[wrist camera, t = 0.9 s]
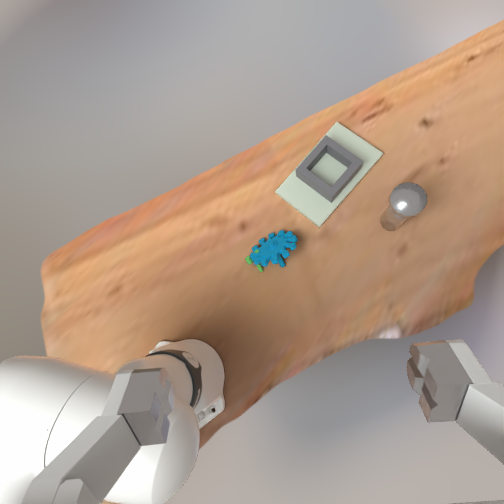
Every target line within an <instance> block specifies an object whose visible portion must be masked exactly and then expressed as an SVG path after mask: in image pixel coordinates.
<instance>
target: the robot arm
mask: <svg viewBox="0 0 504 504" xmlns="http://www.w3.org/2000/svg"><path fill="white" fill-rule="evenodd" d="M409 352H410V354H411V356H412V357H411V358H410V359H409V360H408V362H407V374H408V378H409V381H410V384H411V386H412V389H413V390H414V391H415V392H417V393H418V394H419V395H420V399H419V404H420V406H421V408H422V411H423V413H424V415H425V417H426V419H427V421H428V422H444V421H456V423H458V424H459V425H460V426H461V427H462V428H463V429H464V430H466V431H467V432H468V433H469V434H470V435H471V436H472V437H473V438H475V439H476V440H477V441H478V442H479V443H480V444H481V445H483V447H485V448H486V449H487V450H488V451H489V452H490V453H491V454H492V455H494V456H495V457H496V458H497V459H498V460H499V461H500V462H501V463H503V464H504V385H502V384H500V383H499V382H492V380H491V379H490V377H489V376H488V374H487V373H486V371H485V370H484V369H483V367H482V366H481V364H480V363H479V361H478V360H477V359H476V357H475V356H474V354H473V353H472V352H471V350H470V349H469V347H468V346H467V344H466V343H465V342H464V341H463V340H462V339H455V340H445V341H443V340H442V341H432V342H422V343H414V344H412V345H411V346H410V351H409ZM149 353H150V354H149V355H147V356H145V357H143V358H138V359H134V360H130V361H128V362H126V363H125V364H123V365H122V366H121V367H120V368H118V370H117V371H116V372H115V373H114V374H113V373H110V372H106V371H100V370H97V369H93V368H90V367H87V366H83V365H80V364H77V363H74V362H70V361H67V360H64V359H60V358H54V357H41V356H16V357H12V358H10V359H7V360H5V361H3V362H1V363H0V504H101V503H102V501H103V500H106V501H109V502H115V503H122V504H163V503H164V502H166V501H167V500H169V499H170V498H171V497H172V496H173V495H174V494H176V493H177V492H178V490H179V489H180V488H181V487H182V486H183V485H184V483H185V482H186V480H187V479H188V477H189V475H190V473H191V472H192V470H193V467H194V465H195V462H196V459H197V455H198V451H199V443H200V433H199V429H201V428H202V427H203V426H204V425H206V424H207V423H208V422H210V421H211V420H212V419H214V418H215V417H216V416H217V415H219V414H220V413H221V412H223V411H224V409H225V400H224V395H223V386H224V377H225V376H224V367H223V364H222V361H221V359H220V357H219V355H218V354H217V352H216V351H215V350H214V349H213V348H212V347H211V346H210V345H208V344H206V343H205V342H202V341H200V340H195V339H187V340H182V341H178V342H170V341H161V342H159V343H158V344H157V345H156V347H155V349H152V350H151V351H150V352H149ZM212 408H215V410H216V411H215V412H213V411H212ZM451 504H504V500H497V501H481V502H466V503H451Z"/></svg>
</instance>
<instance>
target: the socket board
mask: <svg viewBox="0 0 504 504" xmlns="http://www.w3.org/2000/svg"><path fill="white" fill-rule="evenodd" d="M382 155H383V153H382V152H381V151H379V150H378V149H376V148H375V147H373V146H372V145H370V144H369V143H367V142H366V141H364V140H363V139H362V138H360V137H359V136H357V135H356V134H354V133H353V132H351V131H350V130H348V129H347V128H345V127H344V126H342V125H341V124H339V123H338V122H336V123H335V124H334V125H333V127H332V128H331V129H330V130H329V131H328V132H327V133H326V135H325V136H324V137H323V138H322V139H321V140H320V141H319V142H318V144H317V145H316V146H315V147H314V148H313V149H312V150H311V152H310V153H309V154H308V155H307V156H306V157H305V158H304V160H303V161H302V162H301V163H300V164H299V165H298V166H297V167H296V169H295V170H294V171H293V172H292V173H291V174H290V175H289V177H288V178H287V179H286V180H285V181H284V182H283V183H282V184H281V186H280V187H279V188H278V189H277V190H276V191H275V193H276V194H277V195H278V196H280V197H281V198H282V199H283V200H285V201H286V202H287V203H288V204H290V205H291V206H292V207H294V208H295V209H296V210H297V211H299V212H300V213H301V214H302V215H304V216H305V217H306V218H307V219H309V220H310V221H311V222H313V223H314V224H315V225H316V226H318V227H319V228H320V227H321V225H322V224H323V223H324V222H325V221H326V220H327V219H328V217H329V216H330V215H331V214H332V213H333V212H334V211H335V209H336V208H337V207H338V206H339V205H340V204H341V202H342V201H343V200H344V199H345V198H346V197H347V196H348V194H349V193H350V192H351V191H352V190H353V189H354V188H355V186H356V185H357V184H358V183H359V182H360V181H361V180H362V178H363V177H364V176H365V175H366V174H367V173H368V172H369V170H370V169H371V168H372V167H373V166H374V165H375V164H376V162H377V161H378V160H379V159H380V158H381V157H382Z"/></svg>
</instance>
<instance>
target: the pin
mask: <svg viewBox="0 0 504 504" xmlns="http://www.w3.org/2000/svg"><path fill="white" fill-rule="evenodd" d="M426 203H427V195H426V193H425V191H424V190H423V188H422V187H420V186H419V185H417V184H414V183H403V184H400V185H398V186H397V187H396V188H395V189H394V190H393V191H392V193H391V195H390V197H389V206H388V208H387V209H386V211H385V212H384V214H383V215H382V217H381V225H382V226H383V228H384V229H386V230H389V231H394V230H397V229H398V228H399V227H400V226H401V225H402V224H403V223H404V222H405V221H406V220H407V219H408V218H409V217H413V216H416V215H417V214H419V213H420V212H421V211H422V210H423V209H424V208H425V206H426Z"/></svg>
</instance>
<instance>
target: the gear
mask: <svg viewBox="0 0 504 504" xmlns="http://www.w3.org/2000/svg"><path fill="white" fill-rule="evenodd" d="M268 236H269V239H268V240H267V242H266V241H265V239H264V238H262V239H260V240H259V243H260V245H262V246H261V247H260V248H258V246H257V245H255V246H254V247H253V248H252V250H253V253H251V254H250V256H247V257H246V258H245V260H246V261H247V263H248V264H251V263H253V265H256V266H257V267H258V269H259V271H260V272H263V269H262V267H261V265H262V266H265V267H266V266H267V265H268V263H269V261H270V260H271V261H272V263H273V264H277V263H279V264H280V266H281V267H284V266H285V263H284V261H283V259H282V257H281V256H280V254H282V256H283V258H287V257H288V256H290V254H289V252H288V251H287V250H286V248H290V249H291V250H294V249H295V248H296V247H297V246H296V244H295V242H297V237H296V235H294V236H293V234H292V232H291V231H289V232H287V233H286V234H285V232H284V231H283V230H280V231H279V232H278V234H277V236H275V234H274V233H271V234H269V235H268ZM289 242H293V243H289ZM254 252H255V253H254ZM260 263H261V265H260Z"/></svg>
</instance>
